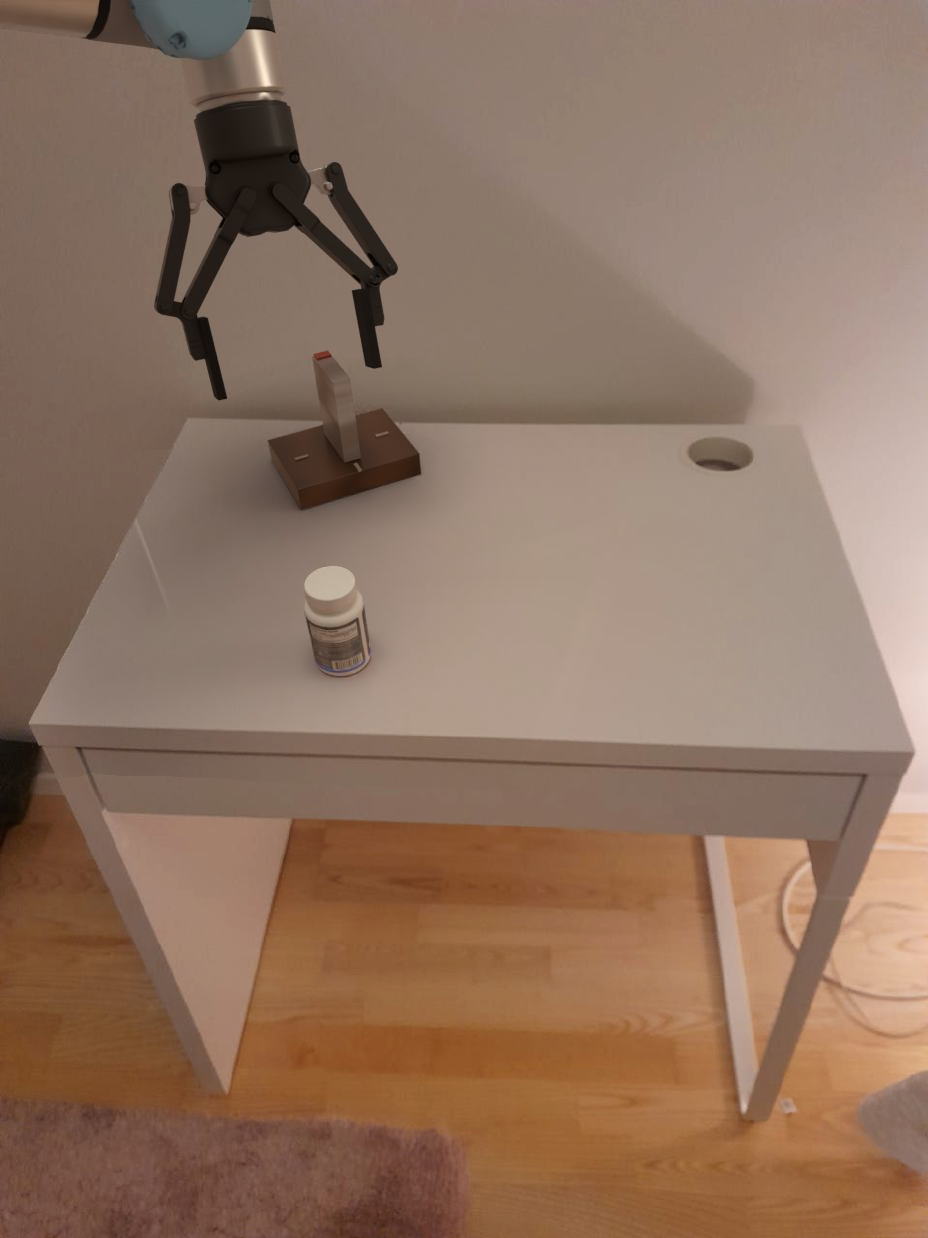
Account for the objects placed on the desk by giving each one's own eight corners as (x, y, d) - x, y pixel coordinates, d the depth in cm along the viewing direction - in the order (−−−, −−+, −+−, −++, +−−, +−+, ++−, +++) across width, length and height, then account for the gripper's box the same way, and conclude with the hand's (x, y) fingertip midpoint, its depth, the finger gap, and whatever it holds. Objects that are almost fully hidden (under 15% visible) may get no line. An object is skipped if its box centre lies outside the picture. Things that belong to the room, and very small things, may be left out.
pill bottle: (329, 632, 80) (315, 556, 75) (380, 644, 79) (369, 568, 73) (305, 670, 77) (288, 595, 71) (357, 683, 76) (344, 608, 70)
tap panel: (302, 510, 93) (297, 488, 91) (271, 459, 100) (266, 438, 98) (421, 474, 97) (420, 452, 95) (384, 427, 104) (381, 405, 102)
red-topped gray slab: (361, 458, 95) (350, 375, 88) (344, 463, 94) (332, 380, 88) (340, 429, 99) (328, 348, 92) (324, 434, 98) (311, 353, 92)
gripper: (379, 95, 80) (419, 351, 88) (73, 131, 72) (148, 406, 81) (406, 79, 73) (447, 357, 81) (73, 116, 66) (156, 417, 74)
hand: (299, 382), depth 81 cm, fingers open, 13 cm apart
